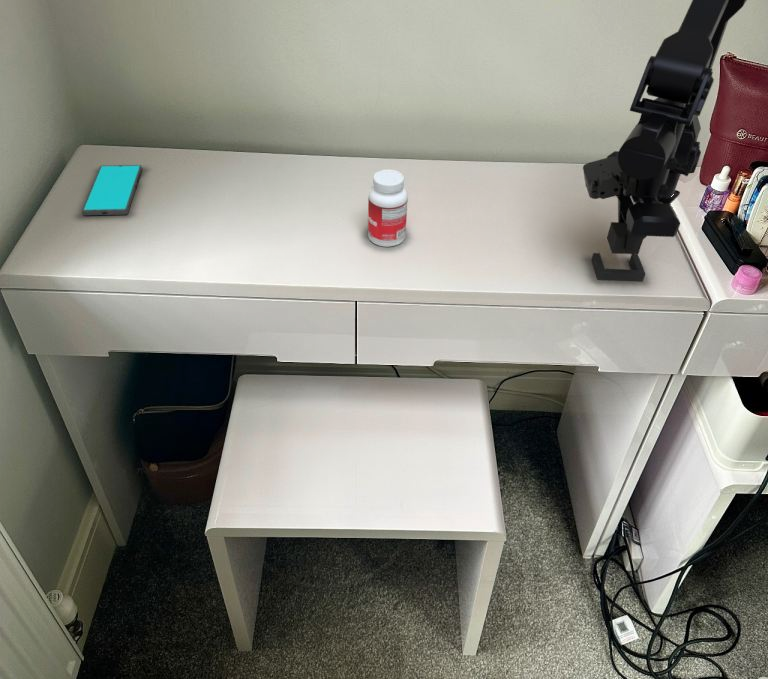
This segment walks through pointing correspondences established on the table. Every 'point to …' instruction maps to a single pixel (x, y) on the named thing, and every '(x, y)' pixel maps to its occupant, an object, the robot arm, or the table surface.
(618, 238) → the dark grey block
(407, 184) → the table surface
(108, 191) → the smartphone
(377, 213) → the pill bottle
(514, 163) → the table surface
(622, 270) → the black u-shaped bracket
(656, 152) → the robot arm
